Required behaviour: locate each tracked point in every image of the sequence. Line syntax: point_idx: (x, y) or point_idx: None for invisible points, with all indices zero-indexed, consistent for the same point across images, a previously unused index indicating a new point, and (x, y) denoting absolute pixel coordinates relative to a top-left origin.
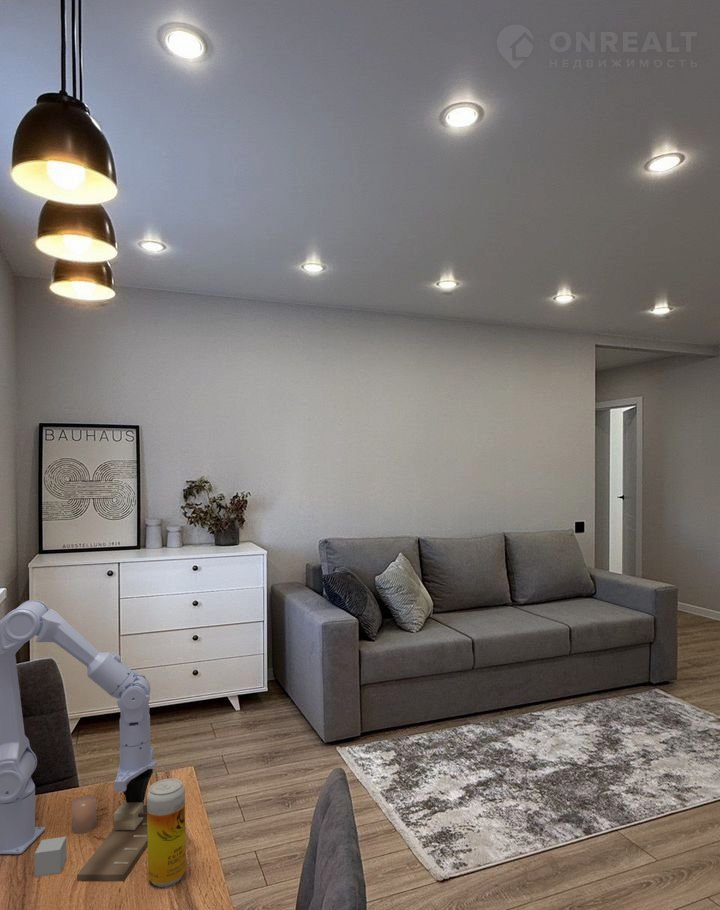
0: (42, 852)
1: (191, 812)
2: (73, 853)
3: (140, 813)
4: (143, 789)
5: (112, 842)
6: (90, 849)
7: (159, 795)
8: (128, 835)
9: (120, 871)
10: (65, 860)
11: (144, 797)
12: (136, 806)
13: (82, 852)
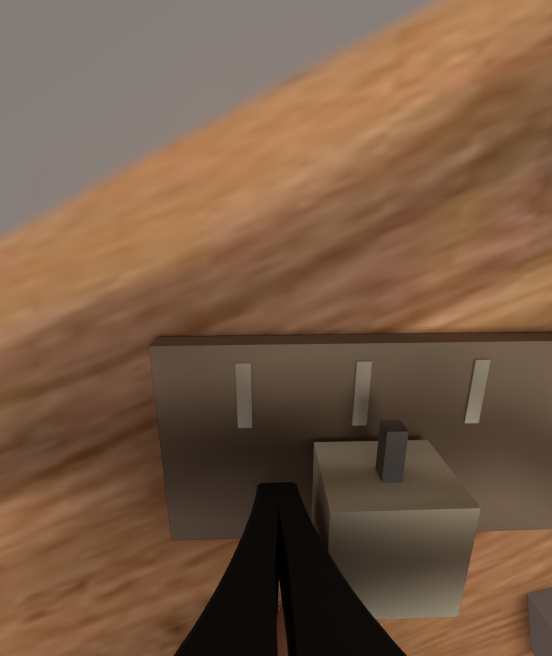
0: None
1: (170, 199)
2: (494, 588)
3: (395, 472)
4: (322, 608)
5: (505, 493)
6: (478, 547)
7: None
8: (457, 449)
9: None
10: (543, 593)
11: (252, 528)
12: (383, 531)
13: (494, 564)
